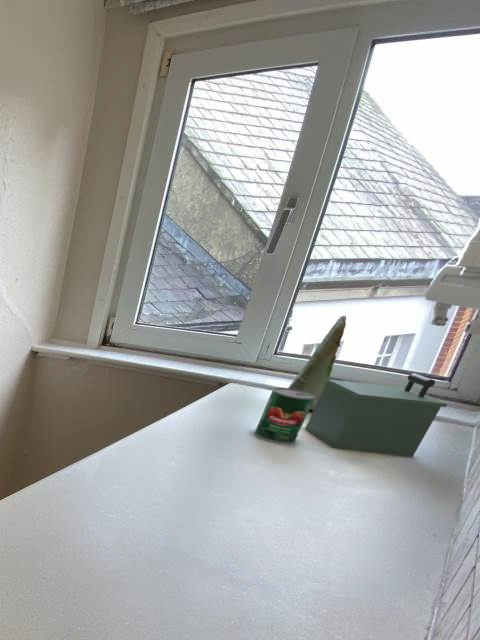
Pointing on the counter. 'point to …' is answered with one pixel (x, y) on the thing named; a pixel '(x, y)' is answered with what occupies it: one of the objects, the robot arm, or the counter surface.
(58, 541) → the counter surface
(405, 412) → the chest
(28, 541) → the counter surface
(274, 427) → the canned tomato
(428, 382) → the lid
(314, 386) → the pouch
